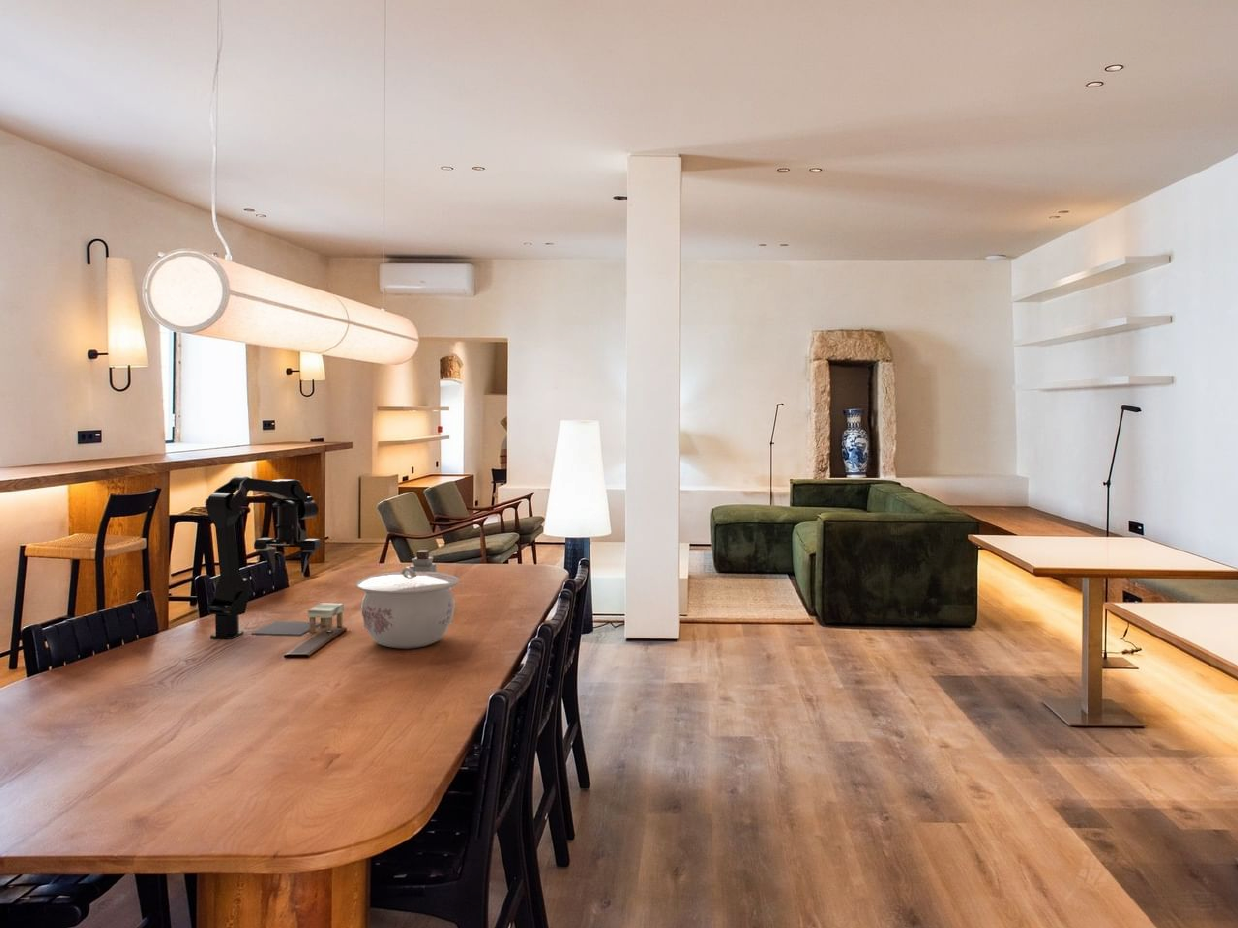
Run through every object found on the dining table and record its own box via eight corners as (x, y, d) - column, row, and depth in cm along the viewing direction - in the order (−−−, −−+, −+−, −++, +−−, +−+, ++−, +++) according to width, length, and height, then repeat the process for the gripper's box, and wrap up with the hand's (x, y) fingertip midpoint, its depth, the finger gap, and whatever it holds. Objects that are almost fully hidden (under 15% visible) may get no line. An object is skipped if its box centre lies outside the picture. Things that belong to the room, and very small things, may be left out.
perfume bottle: (436, 604, 279) (436, 549, 278) (429, 609, 272) (429, 552, 271) (416, 604, 280) (416, 549, 279) (409, 608, 273) (408, 552, 272)
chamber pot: (435, 659, 216) (435, 577, 215) (335, 652, 221) (334, 573, 220) (475, 632, 243) (475, 559, 242) (386, 627, 249) (385, 556, 248)
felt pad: (300, 635, 238) (300, 634, 238) (251, 634, 239) (251, 633, 239) (321, 623, 252) (321, 622, 252) (276, 622, 253) (276, 621, 253)
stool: (330, 633, 241) (330, 610, 241) (308, 632, 242) (308, 609, 241) (343, 625, 250) (343, 603, 250) (322, 625, 251) (321, 603, 250)
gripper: (328, 518, 267) (328, 568, 267) (270, 517, 268) (270, 567, 268) (314, 522, 255) (314, 574, 256) (252, 521, 257) (253, 573, 257)
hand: (288, 572), depth 260 cm, fingers open, 9 cm apart
